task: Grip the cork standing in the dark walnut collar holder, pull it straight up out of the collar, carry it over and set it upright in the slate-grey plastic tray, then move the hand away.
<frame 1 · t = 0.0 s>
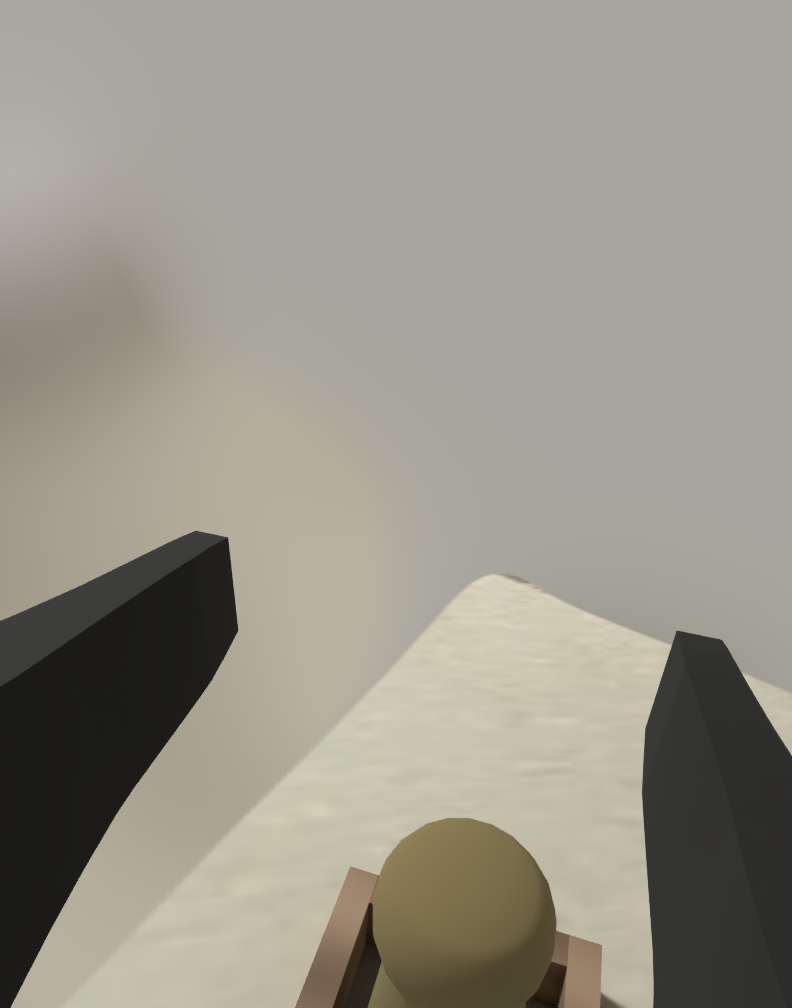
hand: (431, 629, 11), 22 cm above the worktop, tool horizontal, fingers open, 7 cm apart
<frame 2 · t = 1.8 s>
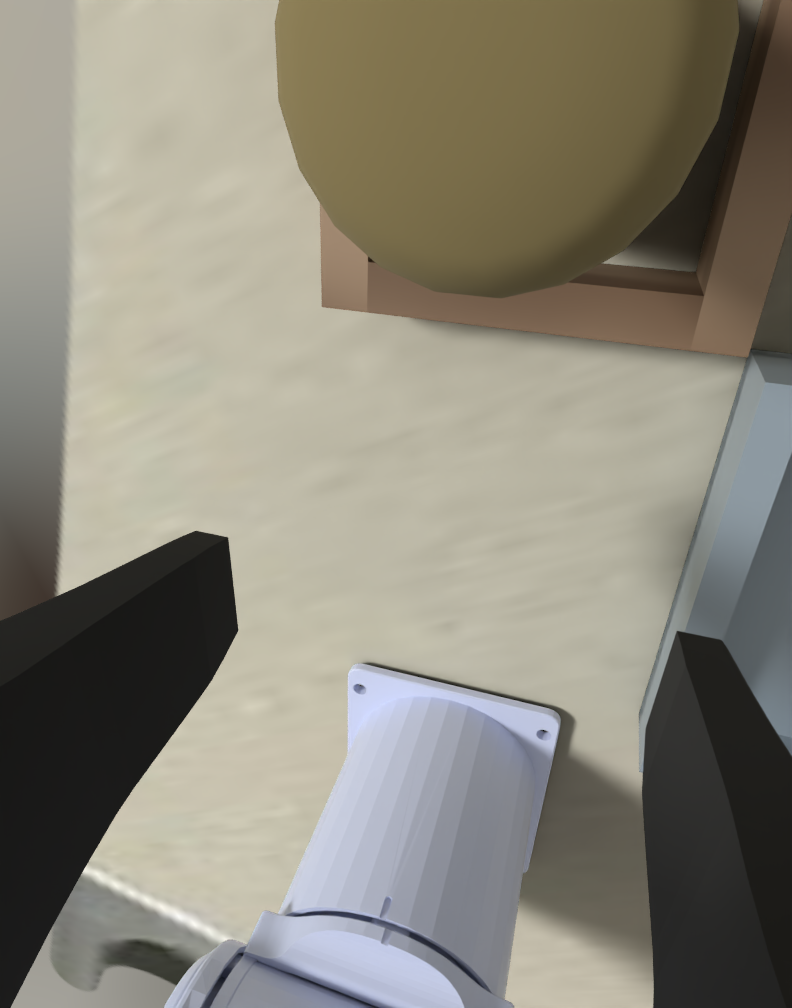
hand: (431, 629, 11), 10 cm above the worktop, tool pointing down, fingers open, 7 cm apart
collar holder: (562, 84, 16), on the worktop
cork: (563, 85, 16), resting in collar holder
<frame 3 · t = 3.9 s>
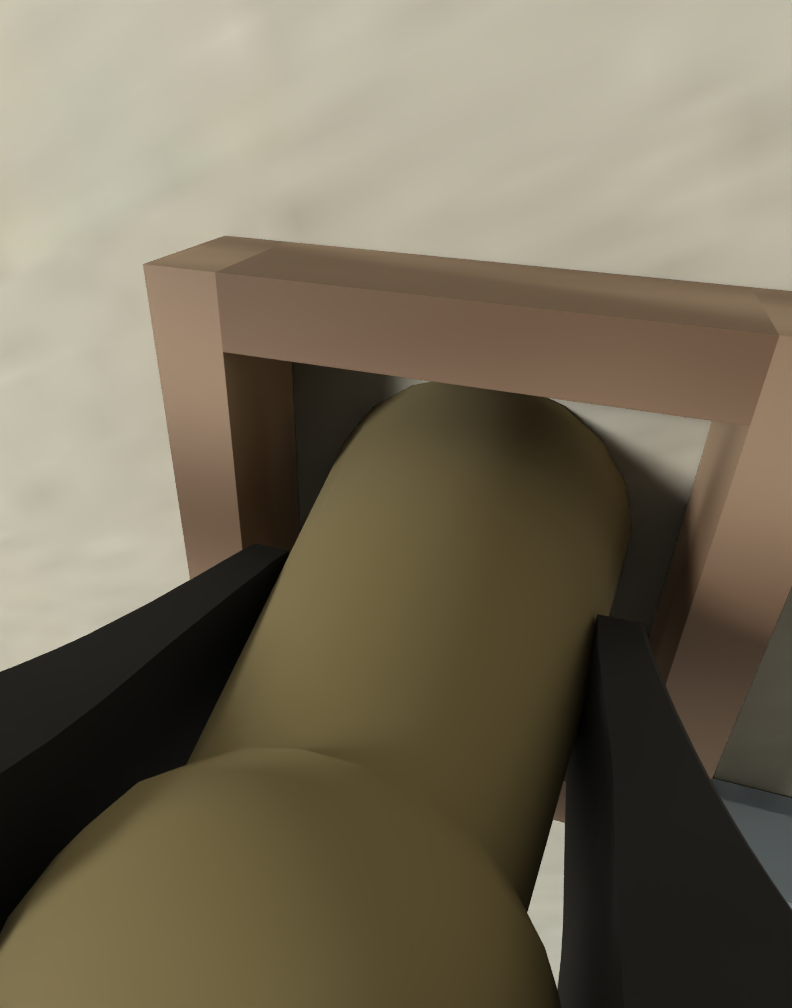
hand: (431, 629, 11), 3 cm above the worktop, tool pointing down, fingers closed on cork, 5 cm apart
collar holder: (473, 521, 14), on the worktop
cork: (475, 516, 14), resting in collar holder, touching gripper
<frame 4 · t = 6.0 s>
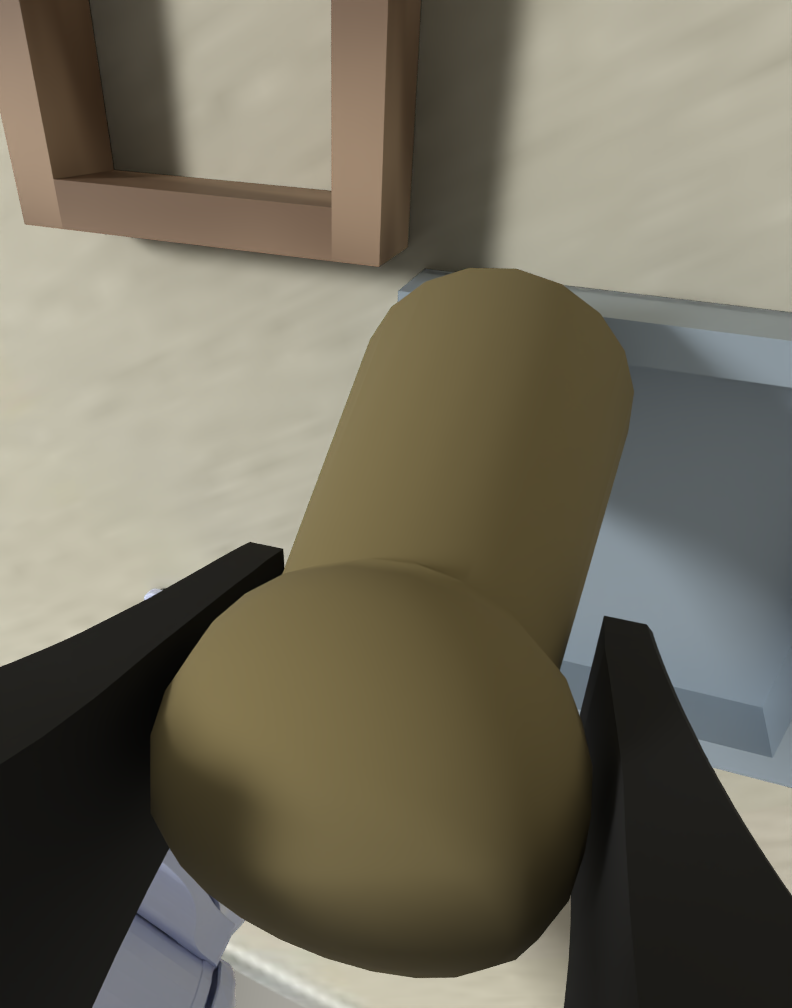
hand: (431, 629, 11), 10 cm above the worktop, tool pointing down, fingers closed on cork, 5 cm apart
collar holder: (223, 11, 17), on the worktop
parts tray: (621, 519, 21), on the worktop
cork: (492, 398, 16), point 4 cm above the worktop, touching gripper
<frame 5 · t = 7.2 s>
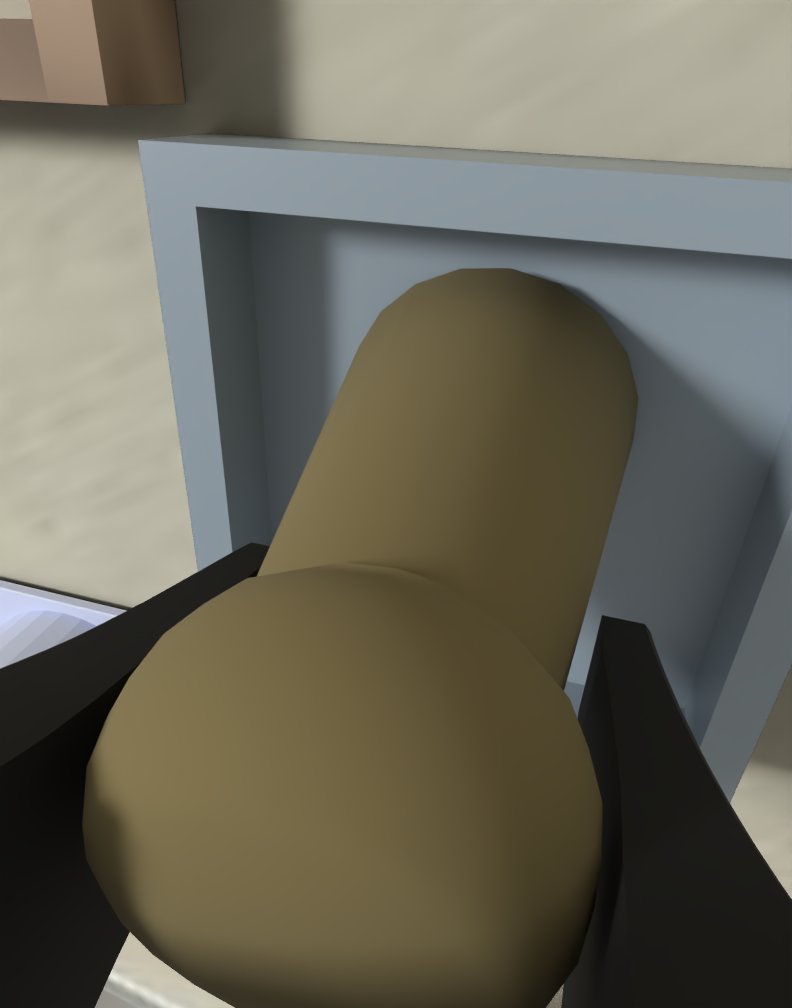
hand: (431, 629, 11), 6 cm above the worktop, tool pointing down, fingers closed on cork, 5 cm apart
parts tray: (492, 467, 16), on the worktop
cork: (488, 408, 15), point 1 cm above the worktop, touching gripper, parts tray
when the fingers open (5 cm above the worktop, at t = 7.8 s): cork stays where it is, resting on parts tray.
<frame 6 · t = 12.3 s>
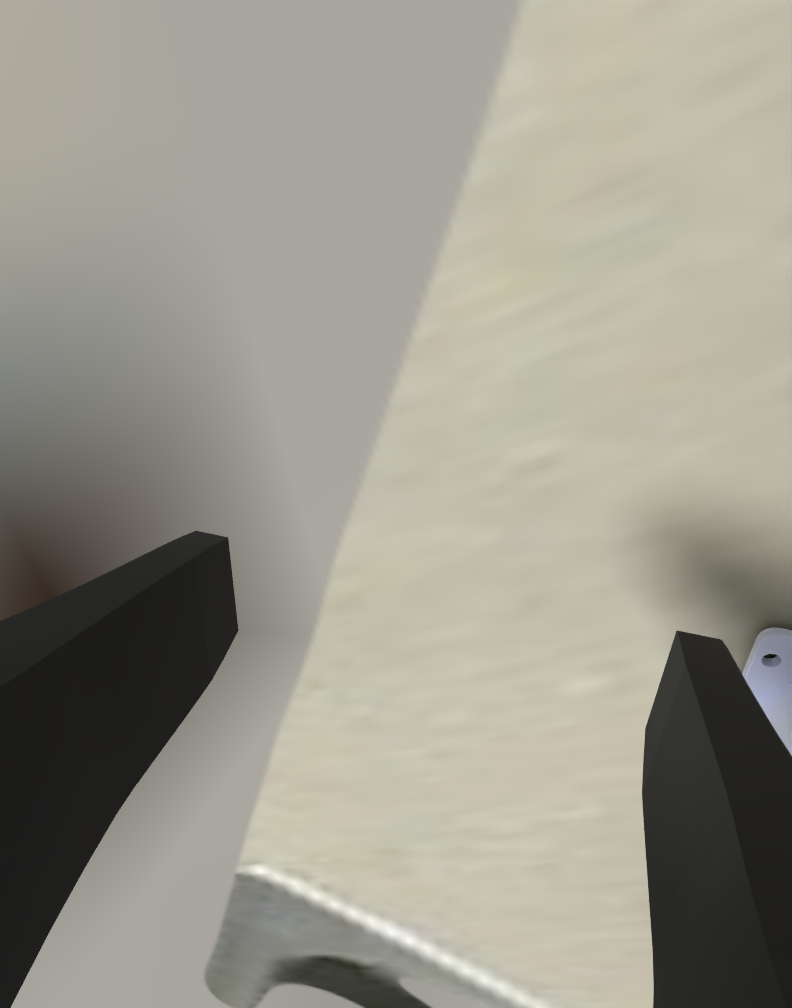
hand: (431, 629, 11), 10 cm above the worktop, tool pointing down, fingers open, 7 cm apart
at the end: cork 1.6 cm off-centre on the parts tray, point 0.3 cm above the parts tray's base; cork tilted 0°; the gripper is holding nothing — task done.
